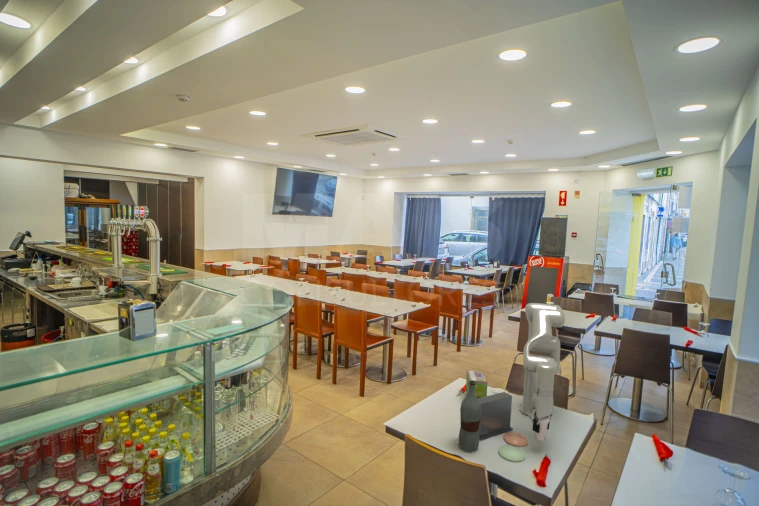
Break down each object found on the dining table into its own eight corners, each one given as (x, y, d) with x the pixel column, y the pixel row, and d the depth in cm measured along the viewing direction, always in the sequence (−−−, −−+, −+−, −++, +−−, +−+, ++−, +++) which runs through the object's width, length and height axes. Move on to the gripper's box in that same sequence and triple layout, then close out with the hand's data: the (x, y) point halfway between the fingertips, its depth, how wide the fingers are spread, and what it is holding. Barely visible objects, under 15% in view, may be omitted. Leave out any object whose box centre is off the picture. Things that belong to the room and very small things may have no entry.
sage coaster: (510, 445, 181) (510, 443, 181) (530, 458, 172) (530, 455, 172) (493, 451, 176) (493, 449, 176) (512, 464, 166) (512, 462, 166)
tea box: (465, 394, 235) (466, 369, 234) (482, 395, 234) (483, 370, 233) (468, 405, 220) (469, 379, 219) (486, 407, 219) (488, 380, 218)
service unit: (502, 424, 201) (504, 390, 200) (512, 430, 195) (515, 396, 193) (468, 433, 190) (471, 398, 189) (479, 441, 184) (481, 404, 183)
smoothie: (529, 434, 180) (532, 404, 179) (543, 434, 181) (545, 404, 179) (536, 442, 174) (538, 411, 172) (550, 442, 174) (553, 411, 173)
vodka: (455, 441, 183) (459, 377, 181) (475, 441, 184) (479, 377, 181) (461, 452, 174) (465, 386, 171) (481, 452, 174) (486, 386, 172)
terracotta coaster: (514, 432, 193) (514, 430, 193) (533, 443, 184) (533, 441, 184) (498, 437, 188) (498, 435, 188) (516, 449, 178) (516, 447, 178)
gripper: (549, 383, 182) (546, 421, 184) (523, 391, 174) (520, 430, 176) (563, 390, 176) (560, 429, 178) (537, 398, 167) (534, 439, 169)
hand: (540, 429), depth 177 cm, fingers closed on smoothie, 5 cm apart
